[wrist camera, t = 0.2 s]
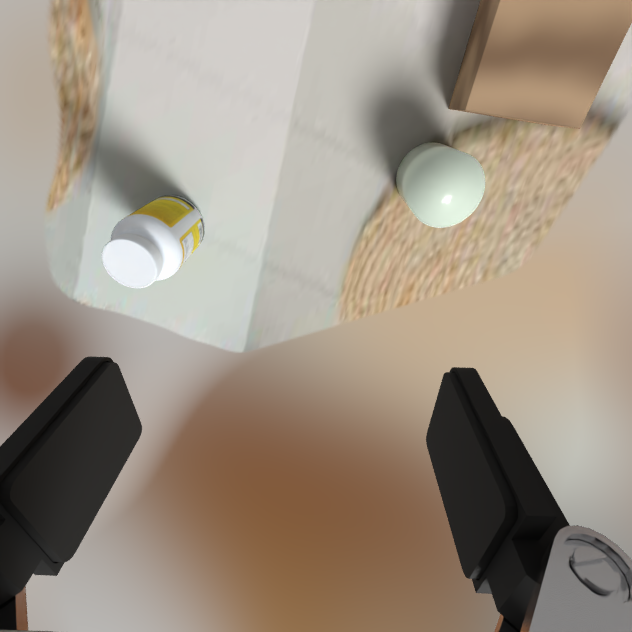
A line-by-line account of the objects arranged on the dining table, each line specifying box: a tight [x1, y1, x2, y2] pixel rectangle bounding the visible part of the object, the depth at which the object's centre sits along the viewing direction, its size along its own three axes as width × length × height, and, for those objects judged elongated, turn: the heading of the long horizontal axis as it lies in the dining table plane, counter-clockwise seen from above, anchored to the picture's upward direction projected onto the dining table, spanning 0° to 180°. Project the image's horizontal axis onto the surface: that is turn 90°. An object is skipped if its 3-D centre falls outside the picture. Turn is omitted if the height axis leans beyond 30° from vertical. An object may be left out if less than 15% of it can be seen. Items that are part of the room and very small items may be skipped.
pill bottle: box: [102, 195, 205, 288], centre depth 34 cm, size 6×6×12 cm
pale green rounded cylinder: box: [396, 142, 485, 228], centre depth 33 cm, size 6×6×7 cm
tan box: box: [449, 0, 632, 129], centre depth 28 cm, size 10×10×5 cm
